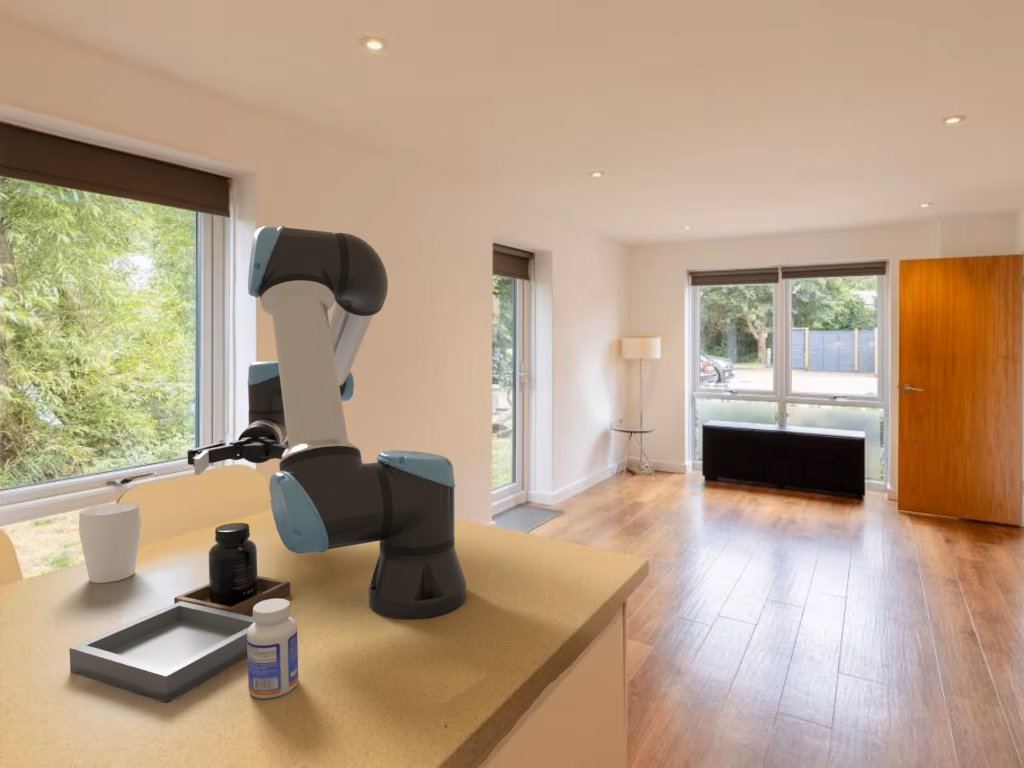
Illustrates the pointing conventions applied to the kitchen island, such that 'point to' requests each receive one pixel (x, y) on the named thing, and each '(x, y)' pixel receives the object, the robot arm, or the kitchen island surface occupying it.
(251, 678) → the pill bottle
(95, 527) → the cup
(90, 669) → the tray
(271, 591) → the bottle holder
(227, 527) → the supplement bottle
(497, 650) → the kitchen island surface
